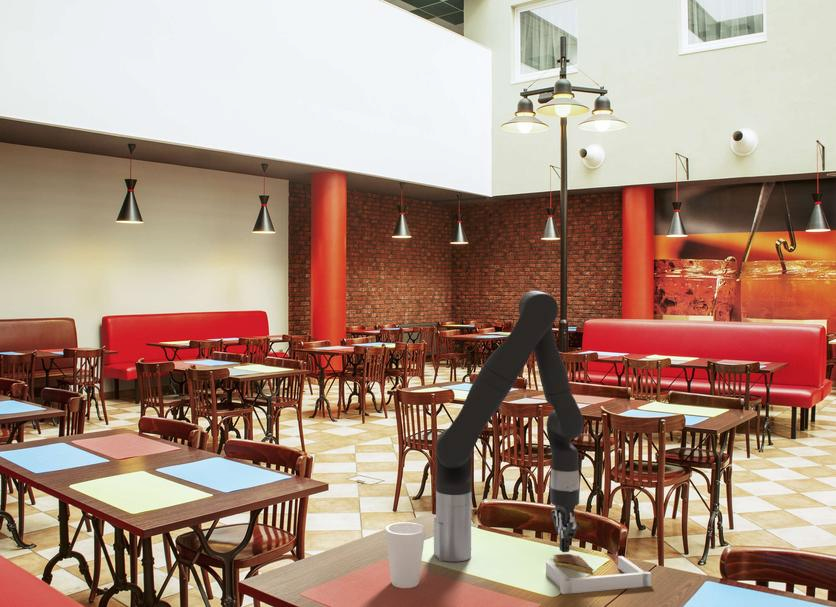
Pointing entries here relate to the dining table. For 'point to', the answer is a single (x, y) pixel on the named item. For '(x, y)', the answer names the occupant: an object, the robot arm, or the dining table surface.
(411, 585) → the foam cup
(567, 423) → the robot arm
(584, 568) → the sandwich
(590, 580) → the box
